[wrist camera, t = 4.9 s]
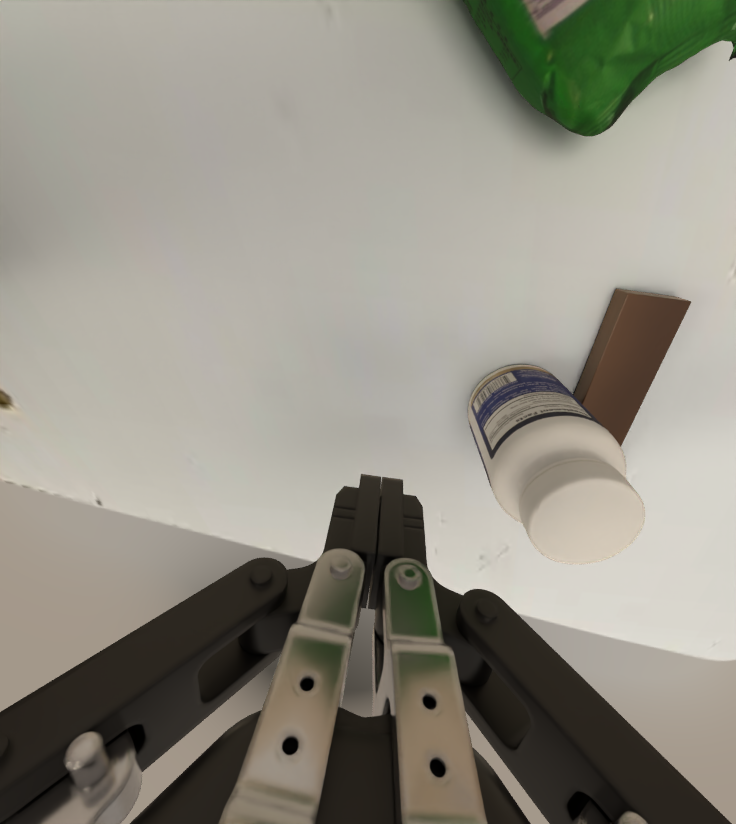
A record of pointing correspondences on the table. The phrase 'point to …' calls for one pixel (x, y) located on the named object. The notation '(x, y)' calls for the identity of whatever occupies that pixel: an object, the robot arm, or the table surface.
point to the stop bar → (628, 356)
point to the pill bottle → (554, 466)
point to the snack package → (596, 49)
